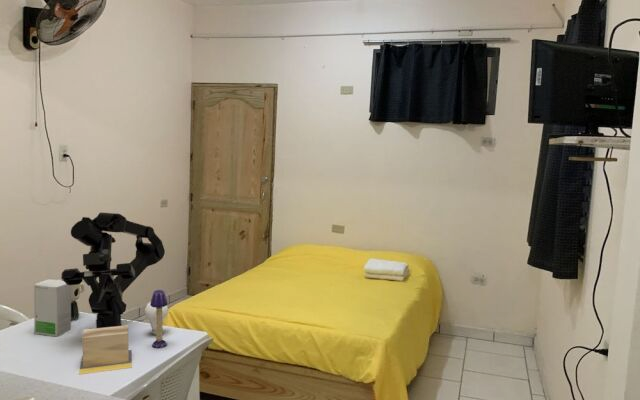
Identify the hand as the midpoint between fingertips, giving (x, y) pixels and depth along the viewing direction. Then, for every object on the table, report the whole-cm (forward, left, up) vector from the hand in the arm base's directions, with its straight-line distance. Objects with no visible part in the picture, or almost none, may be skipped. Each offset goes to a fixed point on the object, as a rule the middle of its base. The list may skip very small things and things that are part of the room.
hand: (97, 302), depth 141 cm
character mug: (-10, -29, -14) cm, 34 cm away
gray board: (+4, +9, -14) cm, 17 cm away
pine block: (+4, +8, -13) cm, 16 cm away
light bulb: (-16, +5, -14) cm, 22 cm away
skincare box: (-1, -23, -14) cm, 27 cm away
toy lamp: (-10, +13, -14) cm, 22 cm away
